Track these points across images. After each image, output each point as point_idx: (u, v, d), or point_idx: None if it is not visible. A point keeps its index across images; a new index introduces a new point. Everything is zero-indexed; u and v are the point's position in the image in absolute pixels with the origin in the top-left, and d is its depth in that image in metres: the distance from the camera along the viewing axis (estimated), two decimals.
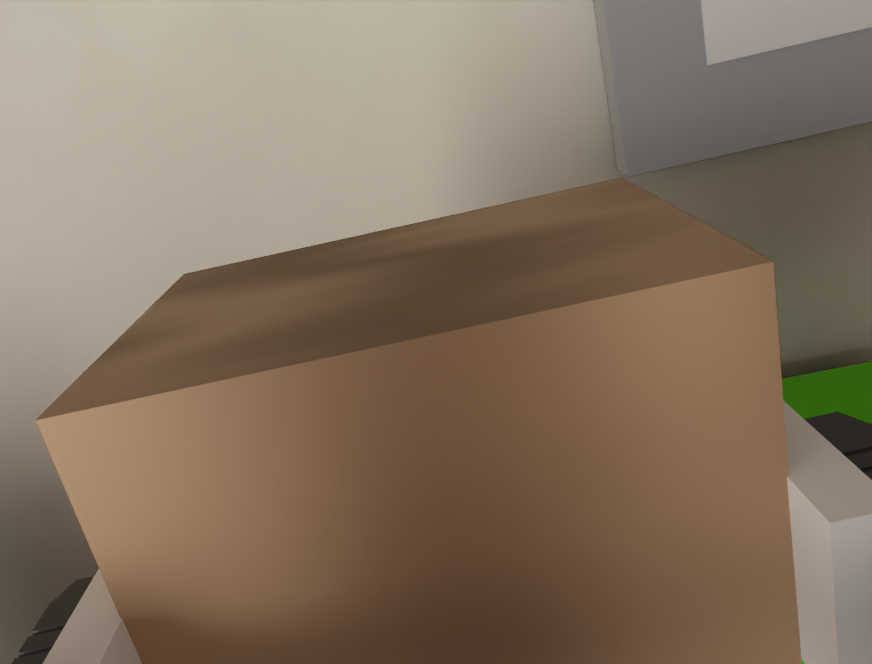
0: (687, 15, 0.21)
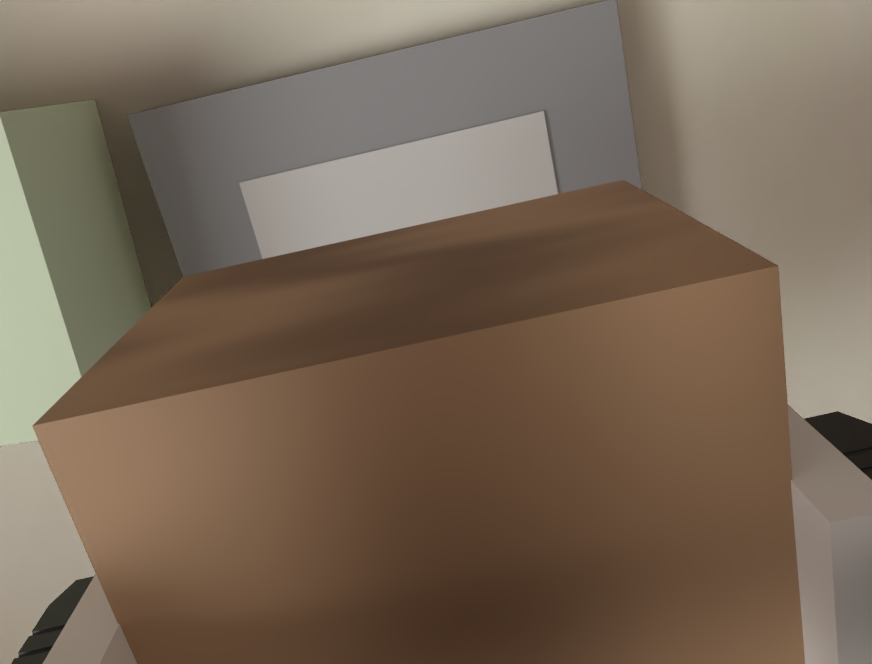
0: None
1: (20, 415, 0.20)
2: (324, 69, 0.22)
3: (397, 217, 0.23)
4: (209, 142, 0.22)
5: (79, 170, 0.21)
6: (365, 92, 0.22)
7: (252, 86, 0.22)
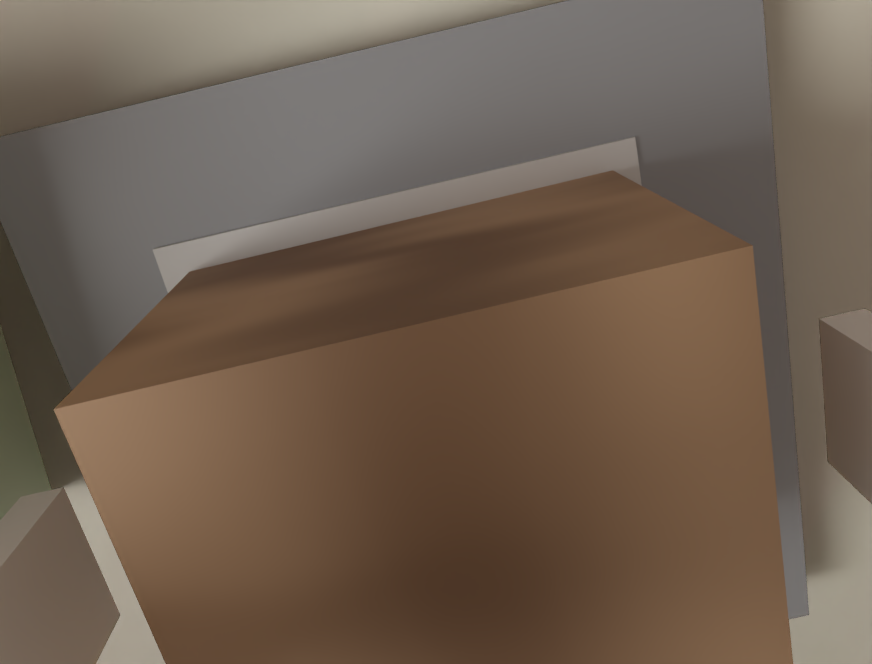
0: None
1: None
2: (284, 71, 0.13)
3: None
4: (103, 187, 0.14)
5: None
6: (351, 108, 0.14)
7: (168, 98, 0.14)
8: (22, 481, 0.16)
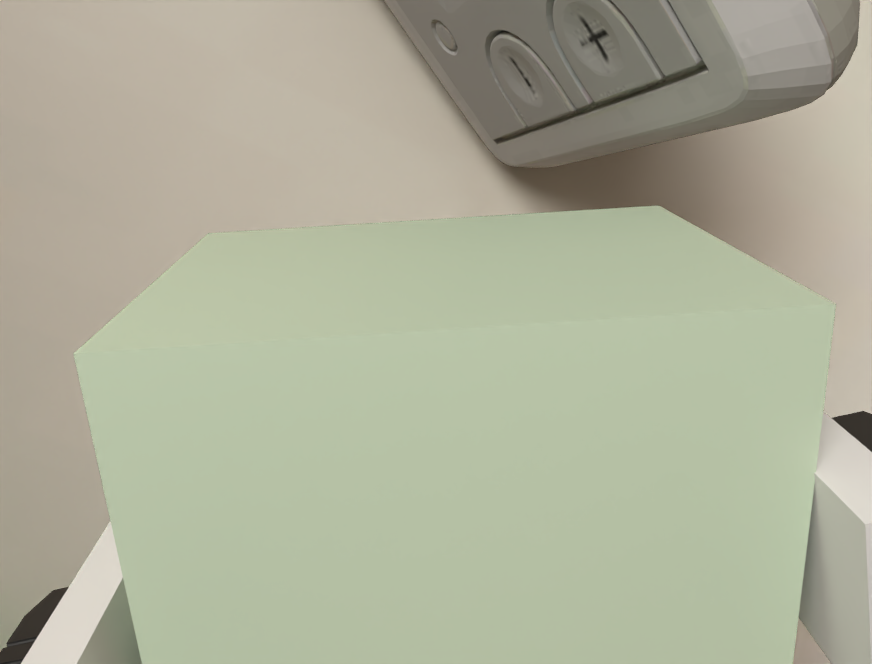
0: None
1: None
2: None
3: None
4: None
5: None
6: None
7: None
8: None
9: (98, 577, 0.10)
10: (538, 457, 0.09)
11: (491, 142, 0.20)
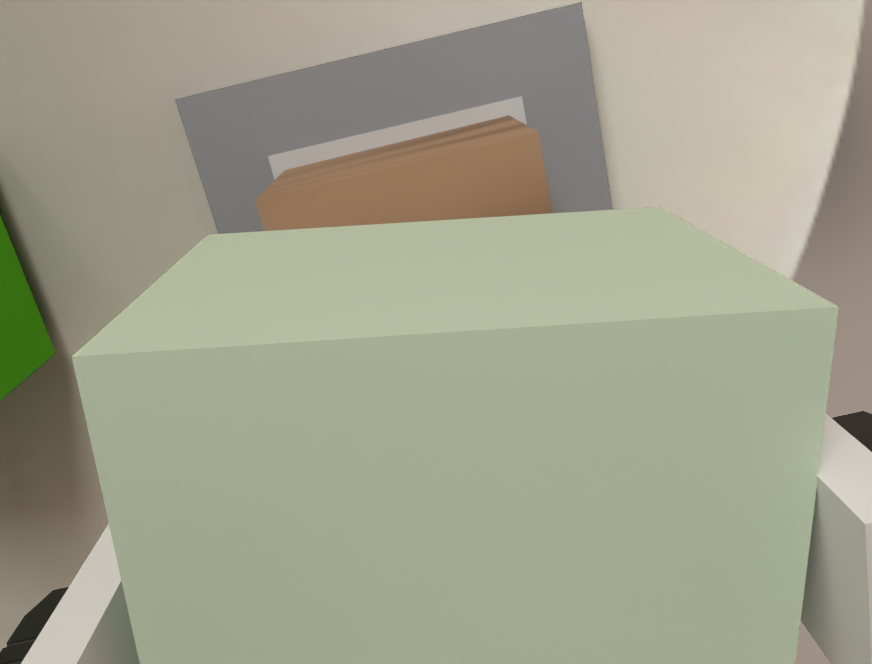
0: (303, 136, 0.27)
1: None
2: (605, 172, 0.28)
3: None
4: (555, 72, 0.27)
5: None
6: (586, 203, 0.28)
7: (596, 113, 0.27)
8: None
9: (98, 577, 0.10)
10: (539, 460, 0.09)
11: None
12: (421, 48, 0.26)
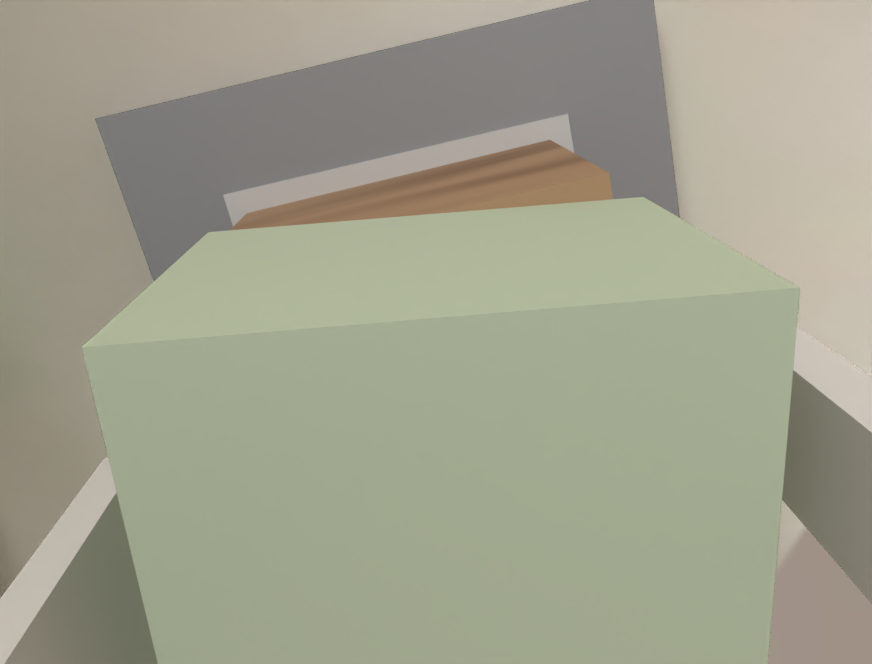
0: (271, 168, 0.20)
1: None
2: (677, 214, 0.21)
3: None
4: (613, 82, 0.20)
5: None
6: None
7: (668, 136, 0.20)
8: None
9: (7, 620, 0.10)
10: (521, 438, 0.09)
11: None
12: (431, 49, 0.19)
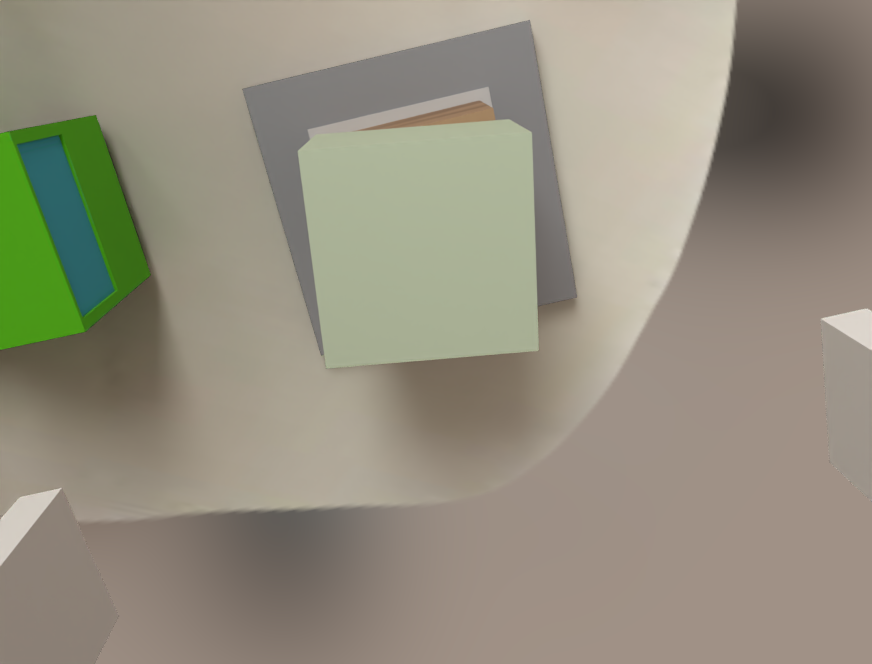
0: (332, 115, 0.38)
1: (340, 321, 0.29)
2: (549, 141, 0.39)
3: None
4: (512, 70, 0.37)
5: None
6: (536, 164, 0.39)
7: (542, 99, 0.38)
8: None
9: None
10: (442, 186, 0.27)
11: None
12: (417, 52, 0.37)
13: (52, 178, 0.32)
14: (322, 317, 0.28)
